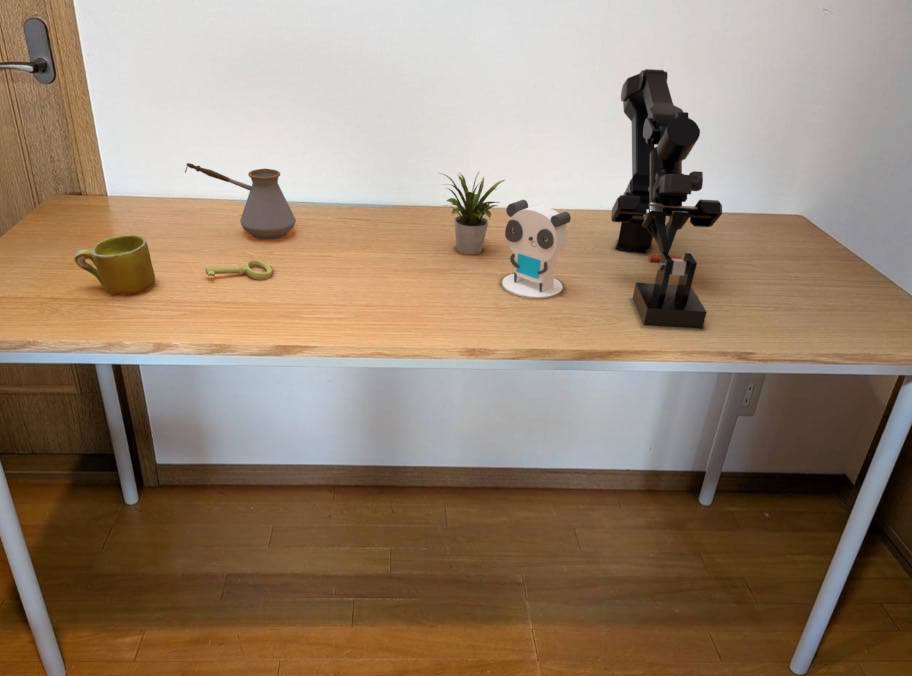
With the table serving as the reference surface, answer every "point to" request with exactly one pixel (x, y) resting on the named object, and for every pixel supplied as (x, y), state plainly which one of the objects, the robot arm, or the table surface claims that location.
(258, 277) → the key
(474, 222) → the house plant
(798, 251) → the table surface
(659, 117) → the robot arm
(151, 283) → the mug
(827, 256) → the table surface
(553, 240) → the panda figurine
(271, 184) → the coffee pot
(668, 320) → the lever base unit
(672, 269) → the switch lever
